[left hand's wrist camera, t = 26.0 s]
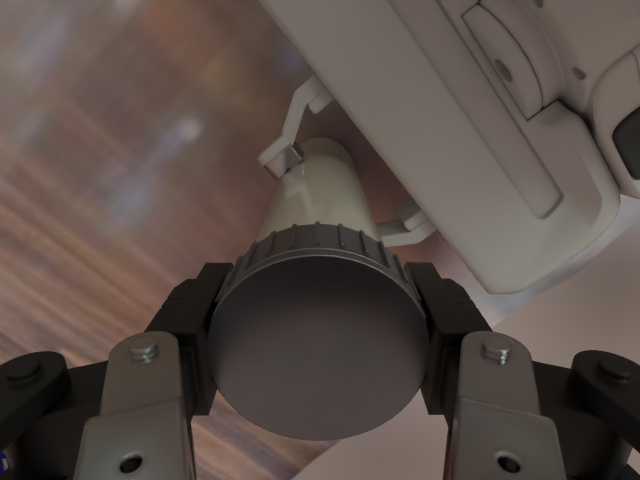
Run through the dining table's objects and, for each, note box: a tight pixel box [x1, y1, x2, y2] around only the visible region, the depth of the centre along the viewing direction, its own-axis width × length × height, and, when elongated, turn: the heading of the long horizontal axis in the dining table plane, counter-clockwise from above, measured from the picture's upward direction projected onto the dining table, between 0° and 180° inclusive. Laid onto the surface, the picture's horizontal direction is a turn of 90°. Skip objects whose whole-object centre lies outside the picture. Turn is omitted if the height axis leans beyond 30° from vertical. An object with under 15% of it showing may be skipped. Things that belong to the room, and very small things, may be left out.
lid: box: [207, 221, 430, 441], centre depth 10 cm, size 5×5×2 cm
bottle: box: [256, 137, 385, 246], centre depth 19 cm, size 4×4×18 cm
